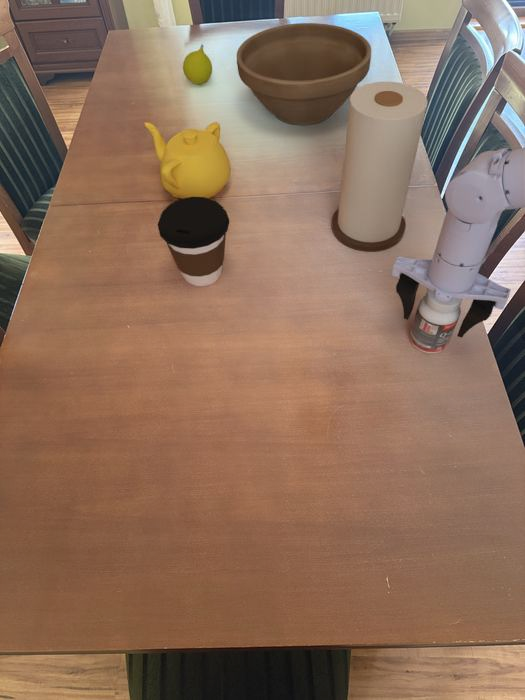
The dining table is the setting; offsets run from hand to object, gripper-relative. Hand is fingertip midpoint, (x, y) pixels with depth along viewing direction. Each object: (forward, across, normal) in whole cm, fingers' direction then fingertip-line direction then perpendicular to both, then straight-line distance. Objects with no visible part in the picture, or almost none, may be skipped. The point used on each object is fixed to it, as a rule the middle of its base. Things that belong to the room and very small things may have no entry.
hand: (434, 323), depth 73 cm
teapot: (+4, -53, +18) cm, 56 cm away
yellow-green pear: (+4, -74, +56) cm, 93 cm away
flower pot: (+4, -45, +54) cm, 70 cm away
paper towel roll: (+4, -17, +21) cm, 27 cm away
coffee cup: (+4, -38, -2) cm, 38 cm away
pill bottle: (+4, 0, 0) cm, 5 cm away
